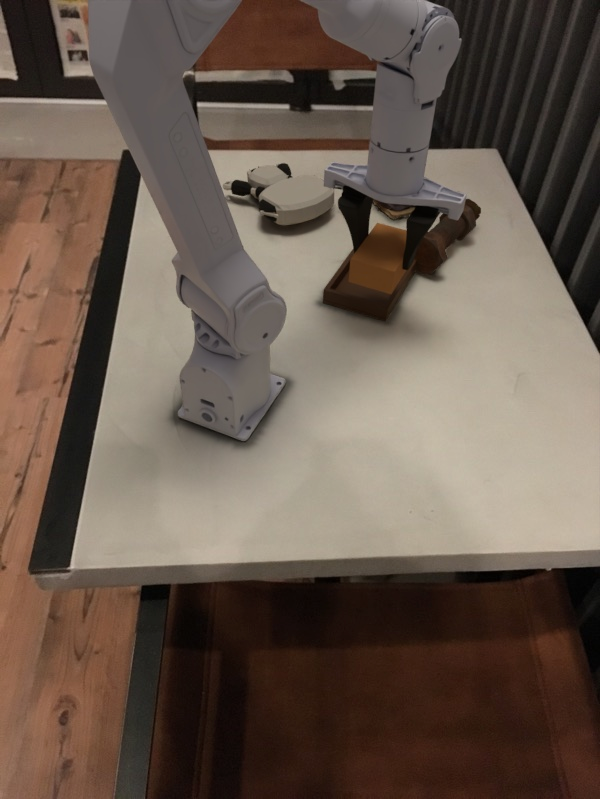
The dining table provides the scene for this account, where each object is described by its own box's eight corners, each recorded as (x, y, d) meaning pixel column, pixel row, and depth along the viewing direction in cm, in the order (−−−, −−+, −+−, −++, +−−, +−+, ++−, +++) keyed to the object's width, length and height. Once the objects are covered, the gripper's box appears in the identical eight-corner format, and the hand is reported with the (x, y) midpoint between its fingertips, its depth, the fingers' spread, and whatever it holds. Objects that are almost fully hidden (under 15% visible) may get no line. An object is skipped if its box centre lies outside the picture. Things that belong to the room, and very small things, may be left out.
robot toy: (218, 204, 100) (280, 244, 91) (215, 174, 97) (279, 212, 88) (285, 179, 105) (349, 214, 97) (284, 150, 102) (350, 184, 94)
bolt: (470, 234, 97) (421, 282, 88) (446, 208, 97) (394, 254, 88) (498, 208, 92) (450, 256, 83) (472, 181, 92) (421, 226, 83)
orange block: (391, 294, 73) (394, 271, 71) (348, 281, 75) (350, 258, 72) (415, 256, 78) (419, 233, 76) (374, 244, 80) (377, 222, 77)
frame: (385, 321, 81) (387, 308, 80) (322, 302, 83) (323, 289, 82) (415, 271, 88) (417, 258, 87) (356, 255, 90) (357, 242, 89)
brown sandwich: (440, 211, 99) (445, 188, 96) (388, 222, 96) (392, 198, 94) (404, 176, 105) (408, 153, 103) (355, 186, 103) (357, 163, 100)
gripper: (484, 138, 66) (458, 256, 76) (345, 108, 70) (337, 224, 80) (464, 170, 62) (439, 291, 71) (317, 135, 66) (312, 255, 75)
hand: (384, 258), depth 75 cm, fingers closed on orange block, 5 cm apart
